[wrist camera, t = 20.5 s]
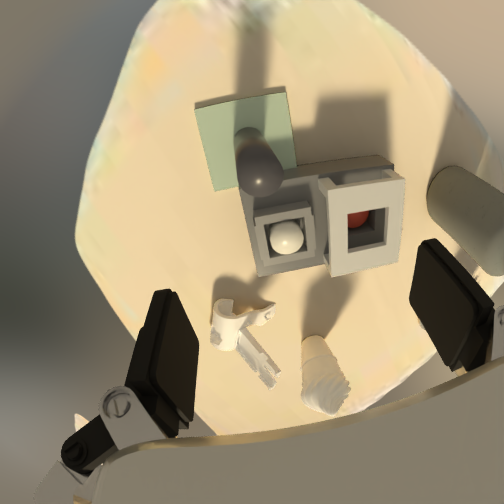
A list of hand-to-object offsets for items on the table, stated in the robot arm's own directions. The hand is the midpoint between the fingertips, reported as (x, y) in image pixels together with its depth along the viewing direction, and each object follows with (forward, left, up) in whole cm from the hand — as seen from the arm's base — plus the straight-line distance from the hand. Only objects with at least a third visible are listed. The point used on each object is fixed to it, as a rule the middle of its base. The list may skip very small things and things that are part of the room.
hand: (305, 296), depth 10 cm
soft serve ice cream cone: (-5, +37, -25) cm, 45 cm away
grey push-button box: (-7, +10, -25) cm, 28 cm away
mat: (0, 0, -25) cm, 25 cm away
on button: (-2, +10, -21) cm, 23 cm away
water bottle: (-29, +11, -25) cm, 40 cm away
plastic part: (+7, +26, -25) cm, 37 cm away
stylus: (0, -1, -24) cm, 24 cm away
